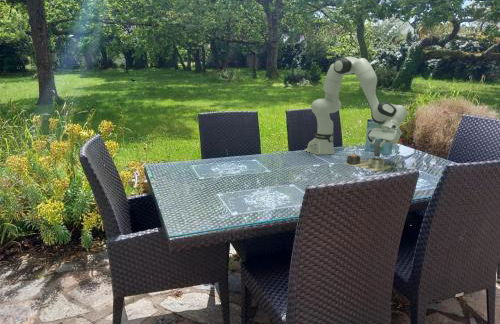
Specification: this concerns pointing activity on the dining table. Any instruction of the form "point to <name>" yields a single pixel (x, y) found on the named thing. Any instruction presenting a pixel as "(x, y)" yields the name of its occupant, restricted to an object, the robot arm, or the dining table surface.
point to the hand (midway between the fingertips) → (376, 145)
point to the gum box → (369, 147)
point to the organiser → (368, 163)
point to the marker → (377, 148)
